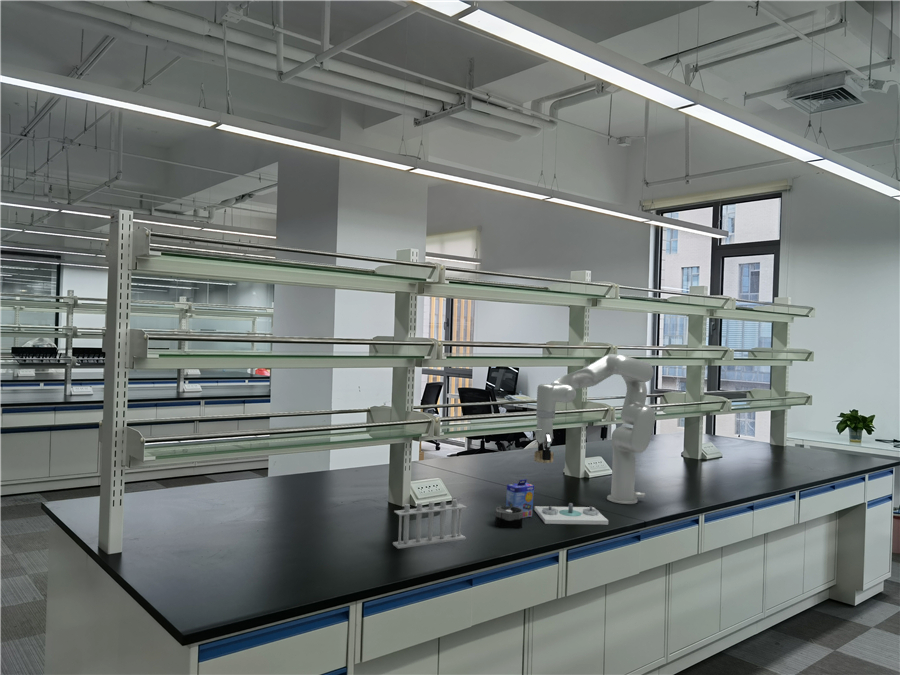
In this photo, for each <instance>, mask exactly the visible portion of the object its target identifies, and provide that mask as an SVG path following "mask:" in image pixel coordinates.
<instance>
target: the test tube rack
mask: <svg viewBox="0 0 900 675" xmlns="http://www.w3.org/2000/svg"><path fill="white" fill-rule="evenodd" d="M451 502H452V503H451V504H447V501H446V500H443V499H441V500H440V505H438V506H435V502H434V501H429V502H428V506H427V507H423V502H417V503H416V508H411V506H410V503H405V504H404V506H403V507H404V508H403V509H400V510H394V511H393V513H395V514H396V515H398V521H399V522H398V537H397V538H398V540H397V541H393V542H392V545H393V547H395V548H396V549H398V550H400V549H405V548H412V547H421V546H426V545H434V544H441V543H449V542H455V541H456V542H457V541H463V540H467V537H466V536H465V535H463V534H462V533H461V528H462V527H461V526H462V510H463V509H467V508H468V506H466V505H464V504H463V503H458V499H457V498H455V499H454V498H453V499H452V501H451ZM446 511H451V519H450V520H451V524H450V534H445V531H446V530H445V529H446ZM435 512H440V514H439V535H437V536H433V535H434V516H435ZM425 513H426V514H427V513H428V518H427V522H428V523H427V537H422V519H423V514H425ZM410 515H416V516H415V520H416V521H415V539H414V538H413V539H410V538H409V536H410V534H409V533H410V518H411V517H410ZM457 518H458V519H457ZM457 521H458V526H457ZM402 522H403V524H402ZM402 525H403V534H402ZM402 535H403V537H402ZM402 539H403V540H402Z"/></svg>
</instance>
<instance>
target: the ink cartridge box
mask: <svg viewBox="0 0 900 675" xmlns="http://www.w3.org/2000/svg"><path fill="white" fill-rule="evenodd" d="M527 481H528V479H526V478H525V479H519V481H518V482H517V483H511V484H510V483H509V484H507V485H506V499H505V500H506V501H505V506H513V507H517V508H521V509H522V510H523V518H522V519H525V518H530V517H531V518H532V517H533V510H534V509H533V508H534V496H535V493H534V492H535V485H534V484H532V483H528V482H527Z"/></svg>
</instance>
